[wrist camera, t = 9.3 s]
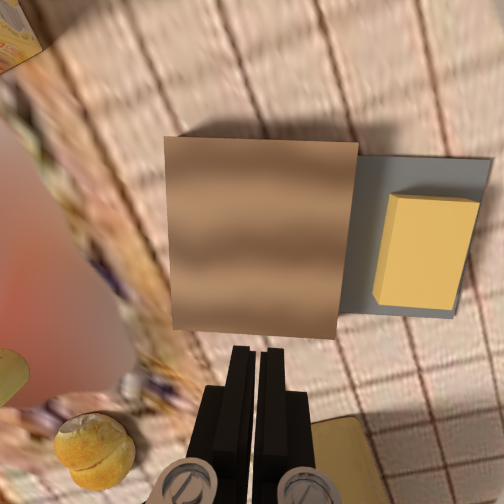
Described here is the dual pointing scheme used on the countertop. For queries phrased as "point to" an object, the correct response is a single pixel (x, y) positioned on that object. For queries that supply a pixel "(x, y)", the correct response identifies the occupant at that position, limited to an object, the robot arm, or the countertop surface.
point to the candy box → (15, 36)
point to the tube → (11, 374)
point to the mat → (374, 212)
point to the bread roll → (95, 451)
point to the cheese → (347, 461)
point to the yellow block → (423, 250)
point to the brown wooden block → (258, 234)
